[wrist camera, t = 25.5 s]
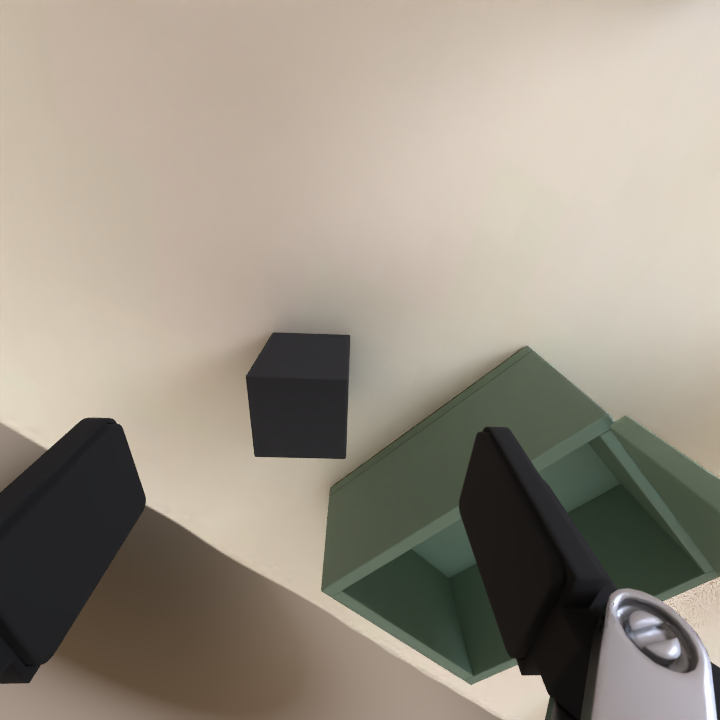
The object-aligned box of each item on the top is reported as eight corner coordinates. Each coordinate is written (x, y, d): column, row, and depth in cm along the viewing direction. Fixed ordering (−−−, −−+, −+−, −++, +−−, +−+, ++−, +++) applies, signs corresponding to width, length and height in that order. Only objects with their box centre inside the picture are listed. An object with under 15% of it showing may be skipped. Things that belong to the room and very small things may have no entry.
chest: (444, 577, 30) (470, 685, 23) (329, 488, 25) (320, 591, 19) (627, 475, 25) (726, 574, 18) (526, 344, 21) (608, 413, 14)
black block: (277, 398, 22) (254, 457, 17) (272, 332, 20) (245, 376, 15) (347, 400, 22) (345, 459, 17) (350, 334, 20) (348, 379, 15)
